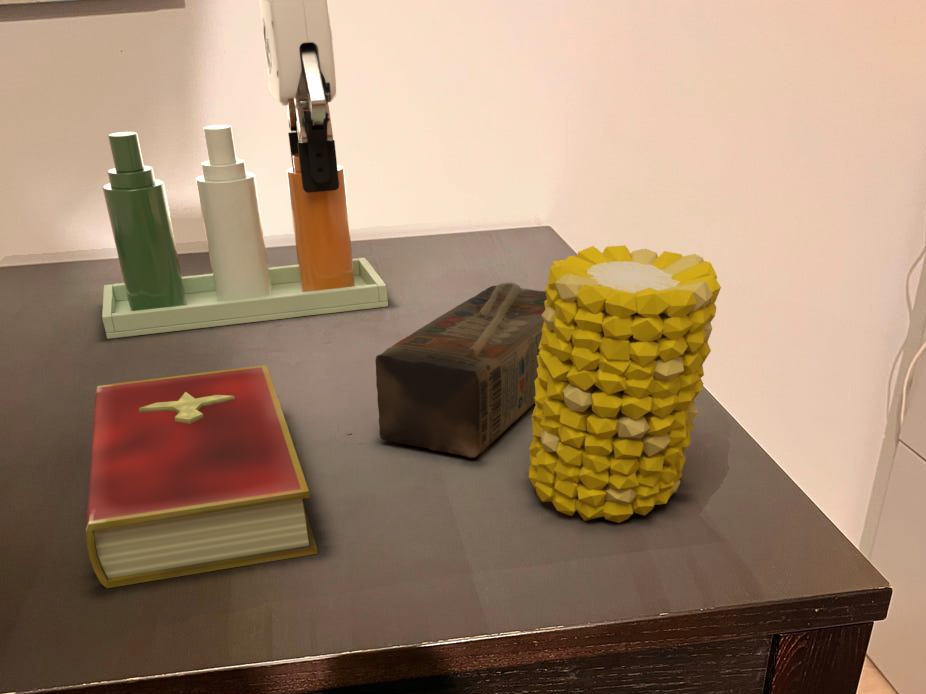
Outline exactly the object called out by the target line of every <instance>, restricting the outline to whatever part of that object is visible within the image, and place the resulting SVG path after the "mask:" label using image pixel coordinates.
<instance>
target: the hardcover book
mask: <svg viewBox="0 0 926 694" xmlns="http://www.w3.org/2000/svg"><path fill="white" fill-rule="evenodd" d="M90 453H91V454H90V464H89V465H90V468H89V481H88V497H87V508H86V509H87V510H86V522H85V523H86V524H85V540H86V548H87V552H88V558H89V561H90V563H91V566H92V570H93V572H94V574H95V576H96V577H97V579H98V581H99V583H100V584H101V585H102V586H103V587H104V588H106V589H112V588H118V587H125V586H129V585H130V586H131V585H135V584H142V583H146V582H154V581H159V580H166V579H171V578H178V577H184V576H191V575H196V574H203V573H209V572H213V571H220V570H226V569H233V568H239V567H245V566H250V565H251V566H252V565H257V564H263V563H268V562H269V563H270V562H275V561H280V560H288V559H292V558H293V559H294V558H299V557H300V558H301V557H306V556H312V555H318V554H319V553H318V547H317V543H316V539H315V538H314V537H315V536H314V534H313V531H312V530H313V529H312V527H311V525H310V521H309V517H308V514H307V511H306V509H305V504H304V501H303V499H310V498H311V494H310V490H309V487H308V483H307V481H306V478H305V475H304V472H303V469H302V466H301V462H300V460H299V457H298V453H297V451H296V448H295V445H294V442H293V438H292V435H291V433H290V430H289V427H288V424H287V421H286V418H285V415H284V412H283V409H282V406H281V403H280V400H279V397H278V395H277V391H276V388H275V385H274V381H273V379H272V376H271V373H270V370H269V366H268V364H261V365H254V366H246V367H244V366H243V367H237V368H228V369H222V370H213V371H212V370H211V371H204V372H198V373H197V372H195V373H190V374H180V375H172V376H165V377H156V378H149V379H141V380H132V381H125V382H124V381H123V382H115V383H107V384H99V385H97V386H96V389H95V395H94V409H93V425H92V437H91V452H90Z"/></svg>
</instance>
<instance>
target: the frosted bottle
mask: <svg viewBox="0 0 926 694" xmlns="http://www.w3.org/2000/svg"><path fill="white" fill-rule="evenodd" d="M203 133H204V140H205V145H206V151H207V158H208V160H205V161H202V162H201V170H202V174H201V175H199V176H197V177H196V178H195V183H196V187H197V194H198V200H199V204H200V211H201V215H202V216H201V217H202V222H203V228H204V233H205V239H206V245H207V250H208V256H209V263H210V268H211V274H213V279H214V285H215V290H216V296H217V301H218V302H219V301H228V300H237V299H246V298H255V297H264V296H272V289H271V282H270V275H269V268H270V267H269V262H268V255H267V248H266V241H265V235H264V228H263V221H262V215H261V208H260V200H259V194H258V187H257V180H256V174H255V173H254V172H252V171H247V166H246V161H245V159H242V158H239V157H237V153H236V147H235V146H236V145H235V141H234V140H235V139H234V133H233V128H232V125H230V124H214V125H213V124H212V125H207V126H204V127H203Z"/></svg>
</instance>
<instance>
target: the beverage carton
mask: <svg viewBox="0 0 926 694" xmlns="http://www.w3.org/2000/svg"><path fill="white" fill-rule="evenodd" d="M546 300H547V296H546V291H545V290H536V289H531V288H523V287H521V286H520V284H518V283H517V282H513V281H506V282H502V283H499V284H497V285H491V286H489V287H487V288H486V289H485V290H482V291H480V292H479V293H477V295H475V296H472V297H469V298H468V299H467V300H465V301H464V302H462V303H460V304H458V305H457V306H455V307H454V308H452V309H450V310H448V311H446V312H445V313H443V314H442V315H440V316H438V317H437V318H434V319H433V320H432V321H430V322H429V323H427V324H426V325H424V326H422V327H420V328H419V329H417V330H415V331H414V332H412V333H411V334H409V335H408V336H406V337H404V338H403V339H401V340H399V341H397V342H396V343H395V344H393V345H391V346H390V347H387V349H385V350H384V351H383V352H382V353H380V354H377V355H376V356H375V379H376V382H375V383H376V384H375V385H376V391H377V397H376V398H377V409H378V426H379V427H378V428H379V439H381V440H383V441H389V442H393V443H396V444H402V445H409V446H414V447H418V448H422V449H428V450H430V451H437V452H441V453H447V454H451V455H459V456H464V457H467V458H471V459H474V458H476V457H478V456H479V455H480V454H481V453H482V452H483V451H485V450H486V449H487V448H488V447H489V446H490V445H491V444H492V443H493V442H494V441H495V440H497V438H499V437H500V436H501V435H502V434H503V433H504V432H505V431H507V429H509V427H511V426H512V425H513V424H514V423H515V422H516V421H517V420H518V419H520V417H521V416H522V415H524V414H525V413H526V412H527V411H528V410H529V409H530V408H531V407H532V406H533V405H534V404H535V400H534V397H535V396H536V394H535V382H534V381H535V380H536V379H537V377H538V373H537V368H538V361H537V356H538V355H539V352H540V350H539V348H538V347H539V344H540V341H541V337H542V327H543V323H544V319H543V317H542V314H543V312H544V311H545V304H544V301H546Z"/></svg>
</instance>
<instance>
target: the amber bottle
mask: <svg viewBox="0 0 926 694" xmlns="http://www.w3.org/2000/svg"><path fill="white" fill-rule="evenodd" d="M296 122H297V121H296ZM305 124H306V123H305ZM297 131H298V140H299V143H300V142H301V141H300V135H299V128H298V122H297ZM293 164H294V167H293V166H291V167H289V168H286V176H287V177H286V178H287V185H288V193H289V195H288V196H289V201H290V210H291V218H292V225H293V234H294V243H295V250H296V258H297V265H298V267H299V275H300V283H301V291H302V292H309V291H318V290H327V289H336V288H345V287H354V286H355V280H354V269H353V259H354V258H353V249H352V248H353V247H352V240H351V228H350V227H351V226H350V218H349V207H348V197H347V196H348V195H347V186H346V175H345V167H344V166H343V165H341V164H337V170H338V179H339V188H338V189H337V190H332V191H321V192H310V193H307V192H305V191H304V189H303V186H302V178H301V170H300V161H299V153H296V154H294V155H293Z"/></svg>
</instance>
